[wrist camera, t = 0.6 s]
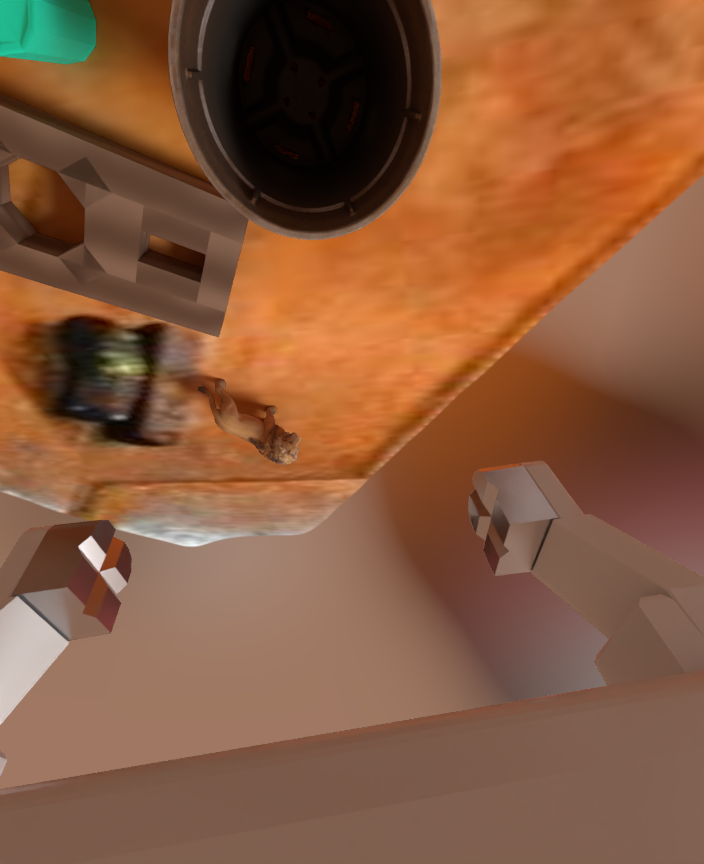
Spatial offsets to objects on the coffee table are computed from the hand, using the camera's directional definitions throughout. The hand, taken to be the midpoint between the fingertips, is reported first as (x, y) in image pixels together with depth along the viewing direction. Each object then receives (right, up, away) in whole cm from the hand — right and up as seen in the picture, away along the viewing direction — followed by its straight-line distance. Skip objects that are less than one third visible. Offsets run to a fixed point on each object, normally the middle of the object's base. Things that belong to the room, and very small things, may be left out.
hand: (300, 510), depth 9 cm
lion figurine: (-13, +6, +49) cm, 51 cm away
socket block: (-23, +23, +32) cm, 46 cm away
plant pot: (-3, +32, +28) cm, 43 cm away
